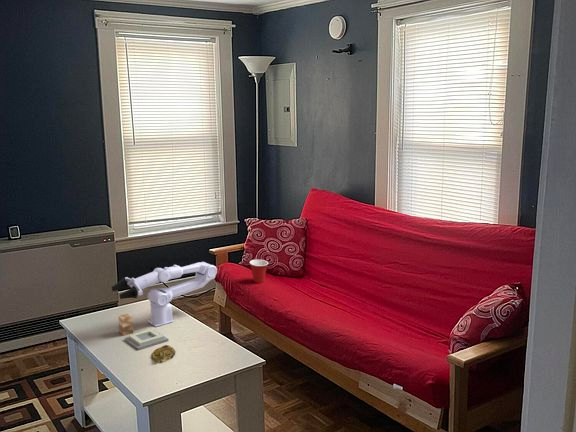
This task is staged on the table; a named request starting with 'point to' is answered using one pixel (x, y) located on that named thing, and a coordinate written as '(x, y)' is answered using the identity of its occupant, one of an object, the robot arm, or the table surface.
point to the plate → (145, 339)
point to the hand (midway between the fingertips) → (116, 293)
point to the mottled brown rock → (163, 354)
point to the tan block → (125, 324)
